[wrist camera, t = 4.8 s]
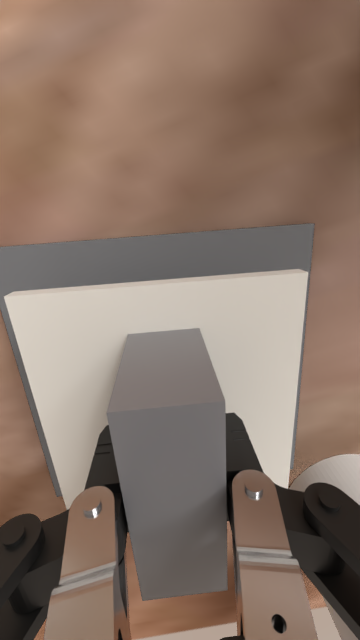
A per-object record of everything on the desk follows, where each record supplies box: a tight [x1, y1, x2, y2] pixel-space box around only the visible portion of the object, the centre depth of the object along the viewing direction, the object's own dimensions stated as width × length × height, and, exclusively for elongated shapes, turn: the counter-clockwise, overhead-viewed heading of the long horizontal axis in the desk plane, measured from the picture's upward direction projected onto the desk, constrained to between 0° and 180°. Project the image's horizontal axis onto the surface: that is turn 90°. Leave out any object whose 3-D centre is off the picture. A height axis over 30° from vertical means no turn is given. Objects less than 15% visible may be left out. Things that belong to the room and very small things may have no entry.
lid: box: [4, 269, 308, 601], centre depth 11 cm, size 12×12×6 cm
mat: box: [0, 223, 315, 497], centre depth 16 cm, size 16×16×1 cm
